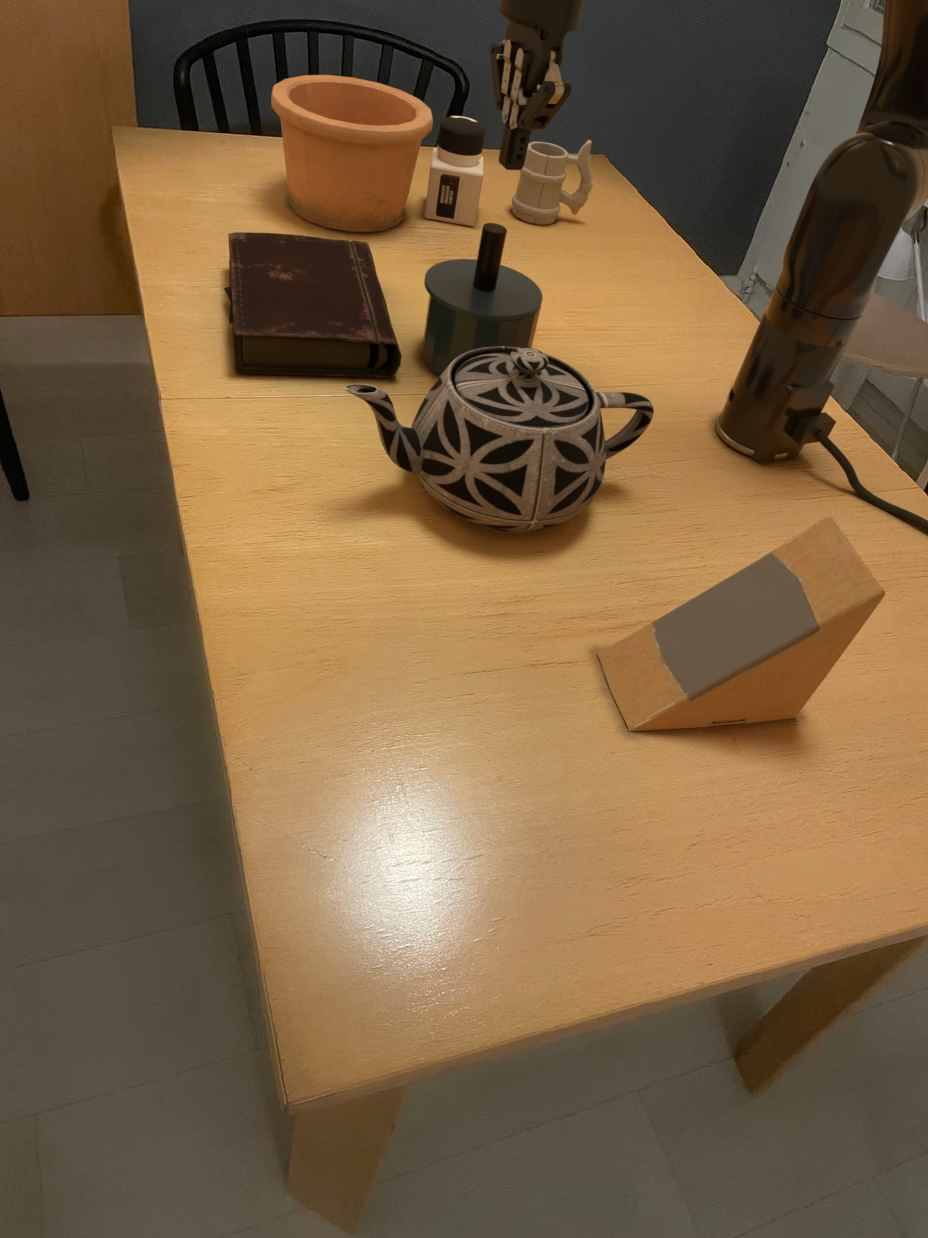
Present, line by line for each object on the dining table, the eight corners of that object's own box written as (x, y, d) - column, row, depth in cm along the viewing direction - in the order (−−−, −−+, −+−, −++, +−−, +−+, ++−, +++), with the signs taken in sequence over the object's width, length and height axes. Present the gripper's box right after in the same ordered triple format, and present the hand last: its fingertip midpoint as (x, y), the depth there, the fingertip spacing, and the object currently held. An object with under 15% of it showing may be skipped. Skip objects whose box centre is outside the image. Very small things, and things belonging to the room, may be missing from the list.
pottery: (238, 198, 125) (236, 86, 115) (339, 168, 139) (345, 66, 129) (355, 255, 119) (363, 141, 109) (448, 217, 133) (463, 114, 123)
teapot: (318, 438, 89) (326, 297, 78) (591, 430, 98) (631, 303, 87) (355, 566, 76) (370, 420, 66) (663, 543, 86) (720, 412, 75)
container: (474, 227, 132) (490, 134, 123) (423, 218, 131) (435, 124, 122) (475, 207, 137) (490, 117, 128) (426, 199, 137) (438, 107, 127)
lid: (560, 322, 98) (578, 254, 92) (452, 329, 92) (463, 258, 87) (508, 266, 106) (522, 201, 100) (405, 270, 100) (413, 201, 95)
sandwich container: (594, 651, 74) (649, 513, 63) (753, 642, 78) (830, 512, 67) (627, 733, 68) (694, 598, 58) (797, 719, 72) (889, 590, 62)
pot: (542, 384, 103) (559, 317, 97) (447, 394, 98) (458, 324, 92) (497, 331, 110) (510, 266, 104) (406, 338, 105) (414, 269, 99)
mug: (508, 202, 141) (523, 120, 133) (579, 213, 143) (599, 133, 134) (511, 221, 136) (527, 138, 127) (585, 232, 138) (606, 151, 129)
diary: (369, 277, 115) (373, 239, 112) (399, 380, 99) (404, 339, 95) (222, 268, 110) (221, 227, 107) (227, 375, 94) (226, 331, 90)
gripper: (624, -18, 74) (573, 193, 86) (551, -57, 82) (514, 142, 94) (547, -26, 71) (506, 194, 83) (479, -66, 79) (450, 141, 91)
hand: (510, 166), depth 89 cm, fingers closed
